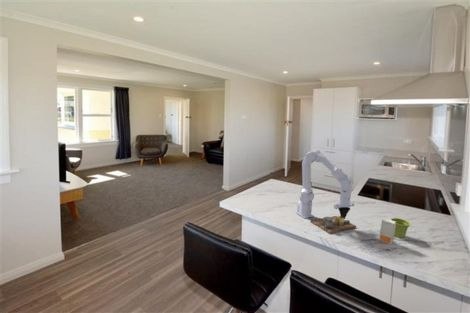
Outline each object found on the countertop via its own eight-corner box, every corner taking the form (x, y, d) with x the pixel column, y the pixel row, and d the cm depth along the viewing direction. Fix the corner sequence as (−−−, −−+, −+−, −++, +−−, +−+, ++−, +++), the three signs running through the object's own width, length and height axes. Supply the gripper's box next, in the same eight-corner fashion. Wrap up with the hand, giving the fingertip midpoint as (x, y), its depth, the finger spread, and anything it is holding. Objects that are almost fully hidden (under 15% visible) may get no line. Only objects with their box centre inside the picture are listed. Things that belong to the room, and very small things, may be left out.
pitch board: (310, 222, 162) (311, 212, 161) (336, 217, 170) (337, 207, 169) (329, 233, 148) (330, 222, 146) (356, 227, 156) (357, 217, 155)
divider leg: (333, 222, 159) (333, 215, 158) (336, 221, 160) (337, 214, 160) (339, 225, 155) (340, 218, 154) (343, 225, 156) (344, 217, 155)
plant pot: (407, 234, 149) (409, 220, 148) (408, 241, 141) (410, 226, 140) (388, 230, 154) (390, 216, 152) (388, 236, 146) (390, 222, 144)
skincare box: (378, 240, 141) (381, 220, 139) (381, 238, 144) (383, 217, 142) (391, 244, 137) (394, 223, 135) (393, 242, 140) (396, 221, 138)
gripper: (341, 200, 148) (338, 222, 151) (359, 197, 154) (356, 219, 156) (332, 196, 154) (330, 218, 157) (350, 194, 160) (347, 214, 163)
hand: (342, 218), depth 157 cm, fingers closed
